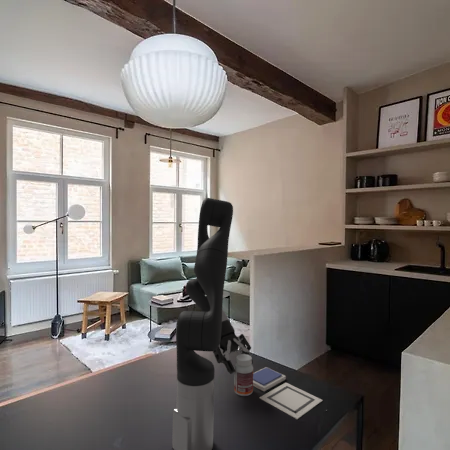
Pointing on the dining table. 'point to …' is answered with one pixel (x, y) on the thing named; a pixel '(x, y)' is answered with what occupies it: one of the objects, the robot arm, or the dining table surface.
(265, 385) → the ink pad
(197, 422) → the robot arm
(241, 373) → the pill bottle
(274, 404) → the white flat square slab
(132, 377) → the dining table surface
